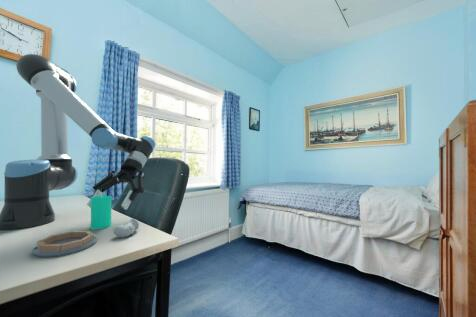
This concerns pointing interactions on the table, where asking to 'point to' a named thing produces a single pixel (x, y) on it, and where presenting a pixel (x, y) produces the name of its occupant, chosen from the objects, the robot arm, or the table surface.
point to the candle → (100, 212)
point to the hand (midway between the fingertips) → (106, 207)
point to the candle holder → (64, 244)
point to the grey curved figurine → (126, 228)
